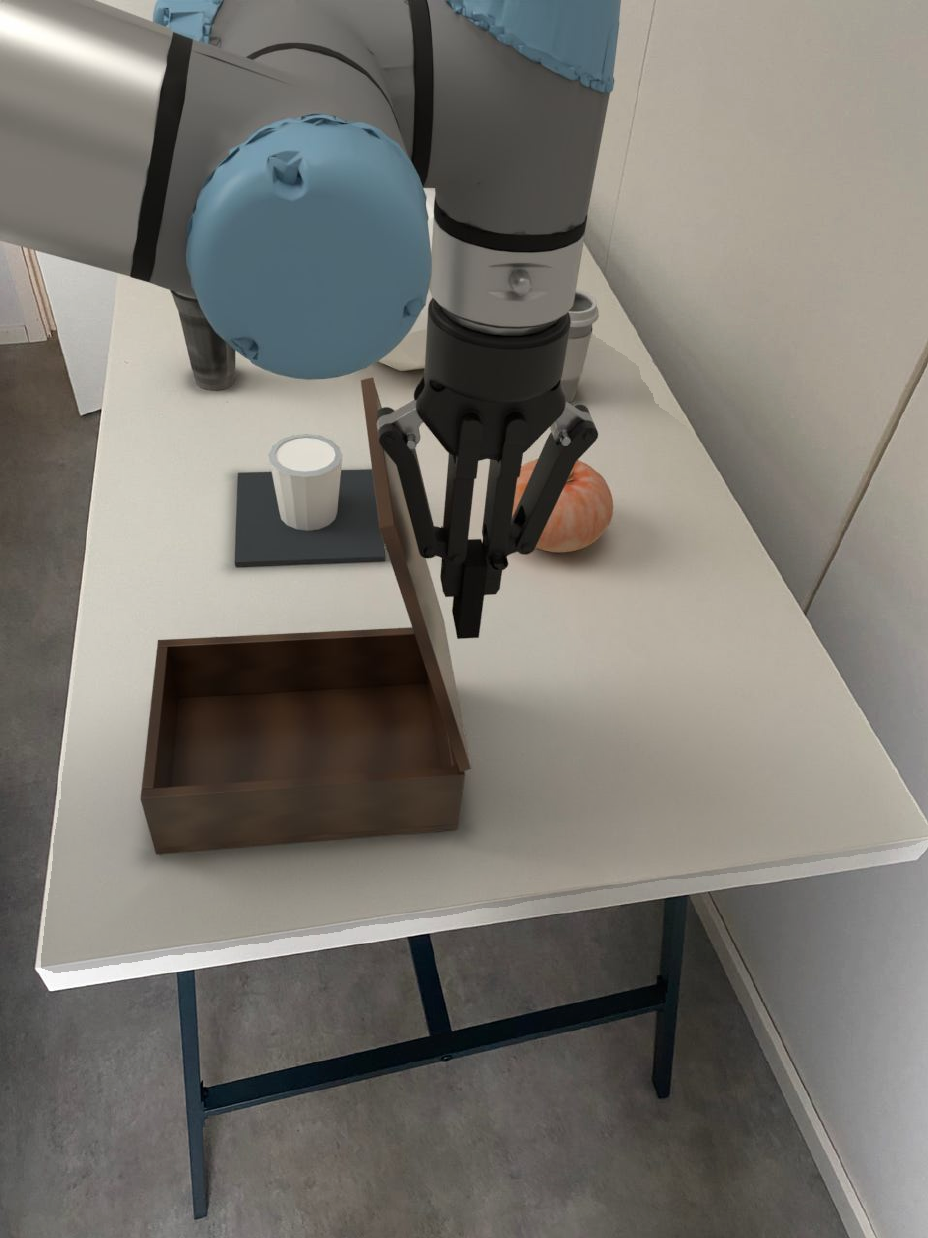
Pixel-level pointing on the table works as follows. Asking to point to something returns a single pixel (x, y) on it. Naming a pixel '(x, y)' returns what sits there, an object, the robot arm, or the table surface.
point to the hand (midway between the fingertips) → (465, 624)
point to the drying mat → (280, 544)
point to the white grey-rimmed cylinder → (306, 480)
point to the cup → (578, 341)
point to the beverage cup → (205, 346)
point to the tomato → (573, 509)
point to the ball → (414, 327)
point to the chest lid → (414, 579)
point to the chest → (295, 741)
